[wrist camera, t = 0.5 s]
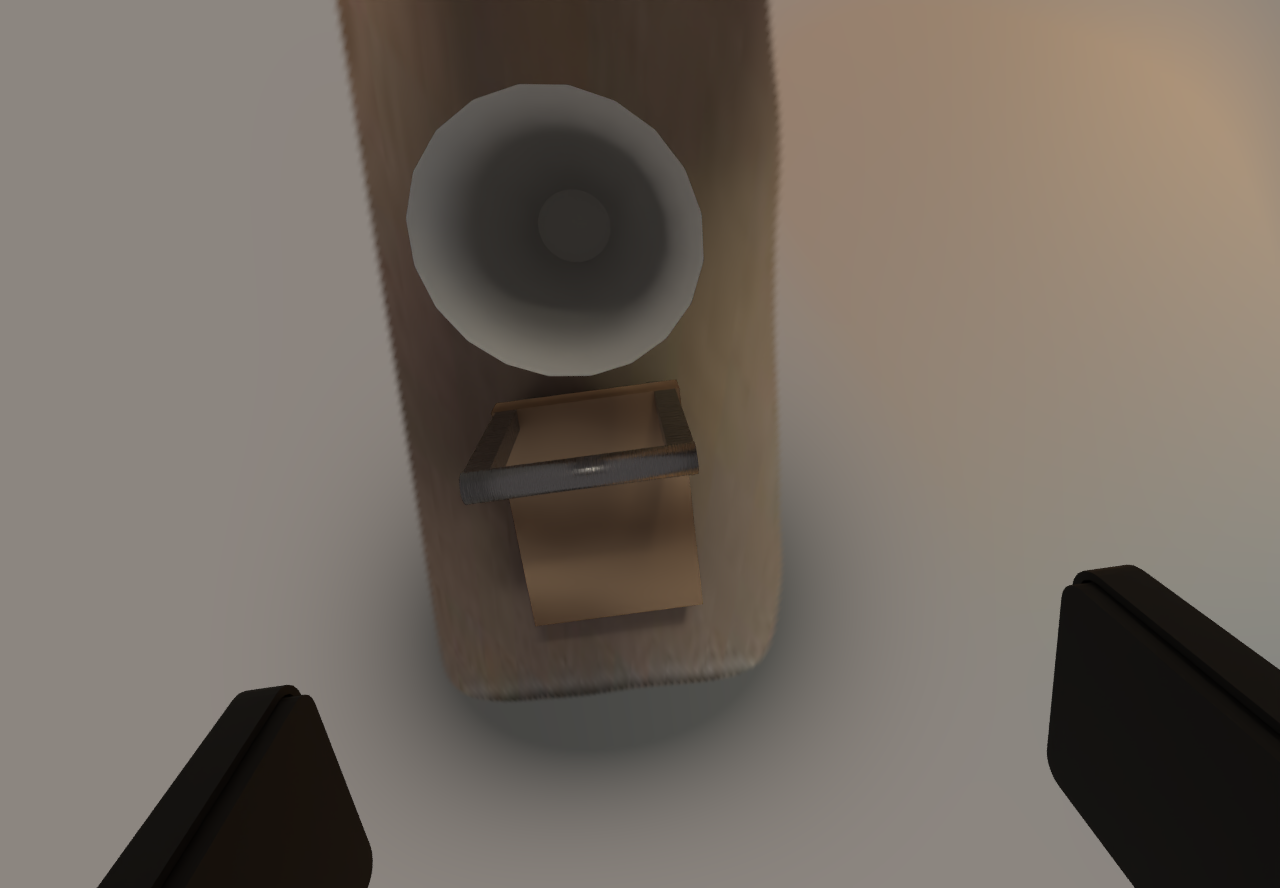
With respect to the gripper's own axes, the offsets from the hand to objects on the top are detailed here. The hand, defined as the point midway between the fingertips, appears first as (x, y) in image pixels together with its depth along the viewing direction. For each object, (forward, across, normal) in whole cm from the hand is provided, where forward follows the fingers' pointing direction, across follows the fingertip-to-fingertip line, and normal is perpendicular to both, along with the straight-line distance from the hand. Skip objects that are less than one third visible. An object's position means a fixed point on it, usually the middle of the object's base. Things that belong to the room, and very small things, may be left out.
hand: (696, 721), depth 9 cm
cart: (+28, +3, +9) cm, 30 cm away
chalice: (+29, +2, -5) cm, 29 cm away
